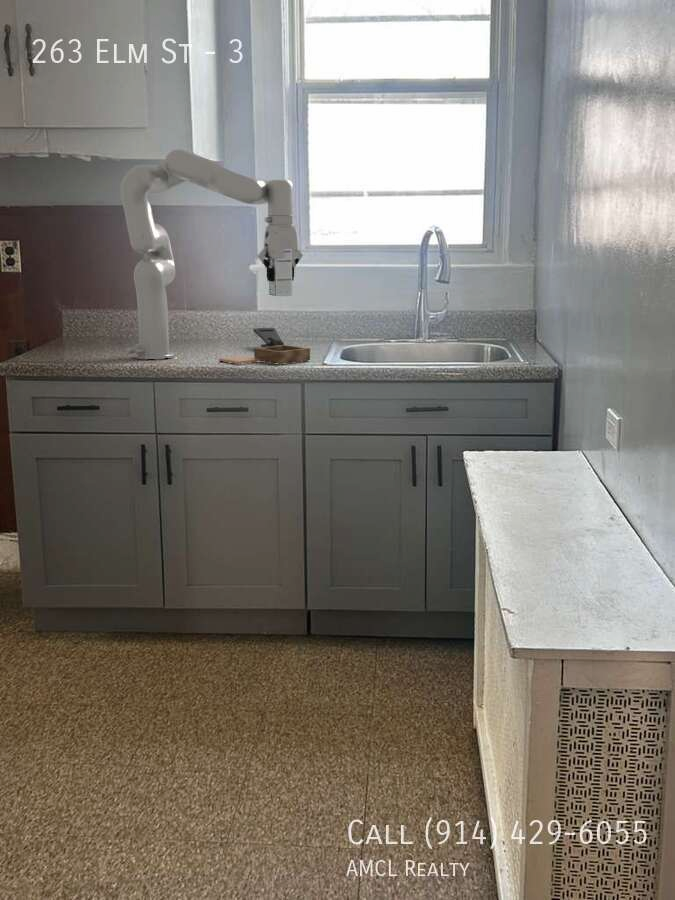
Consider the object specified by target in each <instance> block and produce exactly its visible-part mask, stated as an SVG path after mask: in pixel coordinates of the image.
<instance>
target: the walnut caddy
mask: <svg viewBox="0 0 675 900" xmlns="http://www.w3.org/2000/svg"><path fill="white" fill-rule="evenodd" d="M253 350H254V351H253V354H254V355H253V357H254V358H259V359H261V361H265V362H271V363H278V364H284V363H292V364H294V363H293V362H300V363H302V362H301V361H307V362H309V361H308V360H310V361H311V348H309V347H302V346H297V345H296V346H293V345H287V344H284V345H279V346H270V347H262V348H261V347H256V348H255V347H254V348H253Z"/></svg>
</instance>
